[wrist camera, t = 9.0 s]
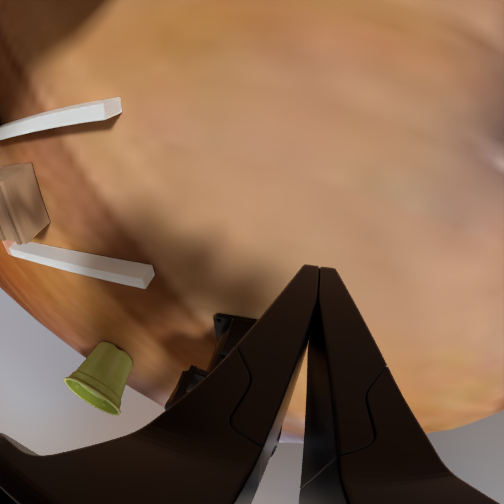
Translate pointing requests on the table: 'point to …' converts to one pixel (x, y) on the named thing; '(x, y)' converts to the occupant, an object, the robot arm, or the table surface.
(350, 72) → the table surface
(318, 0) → the table surface
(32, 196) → the crate
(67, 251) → the bay
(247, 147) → the table surface
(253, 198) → the table surface
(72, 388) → the plant pot
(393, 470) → the robot arm
